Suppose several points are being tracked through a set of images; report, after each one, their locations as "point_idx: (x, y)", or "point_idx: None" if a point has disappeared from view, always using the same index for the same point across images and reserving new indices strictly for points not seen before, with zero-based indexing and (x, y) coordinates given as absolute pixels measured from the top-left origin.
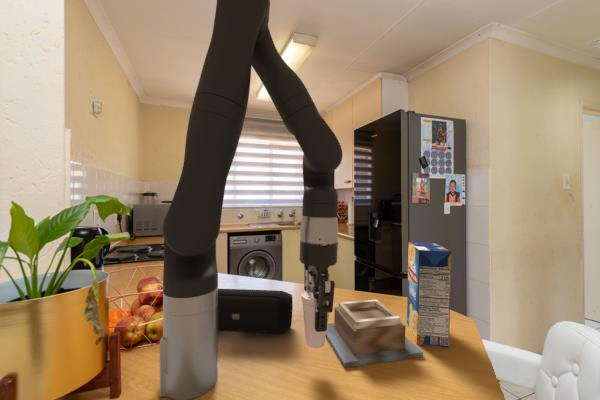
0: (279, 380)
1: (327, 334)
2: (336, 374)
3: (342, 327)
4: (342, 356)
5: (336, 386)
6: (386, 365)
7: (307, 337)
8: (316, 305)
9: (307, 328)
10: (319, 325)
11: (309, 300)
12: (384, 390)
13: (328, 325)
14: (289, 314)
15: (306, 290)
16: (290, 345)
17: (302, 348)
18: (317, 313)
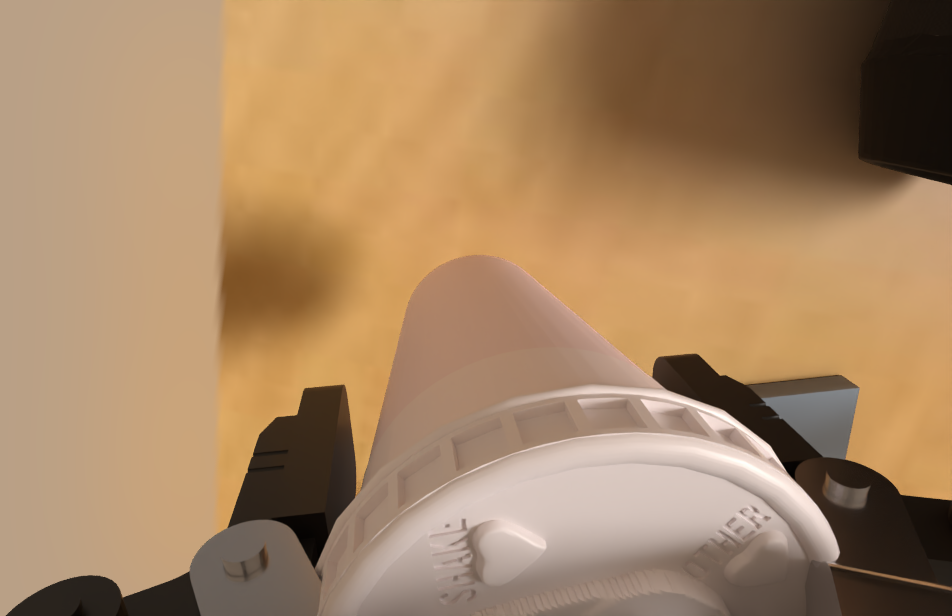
0: (353, 18)
1: None
2: (374, 369)
3: None
4: None
5: (279, 348)
6: None
7: (443, 280)
8: (208, 609)
9: (442, 310)
10: (258, 455)
11: (363, 543)
12: None
13: (827, 432)
14: (938, 172)
15: (905, 517)
16: (710, 143)
17: (654, 221)
18: (280, 520)
